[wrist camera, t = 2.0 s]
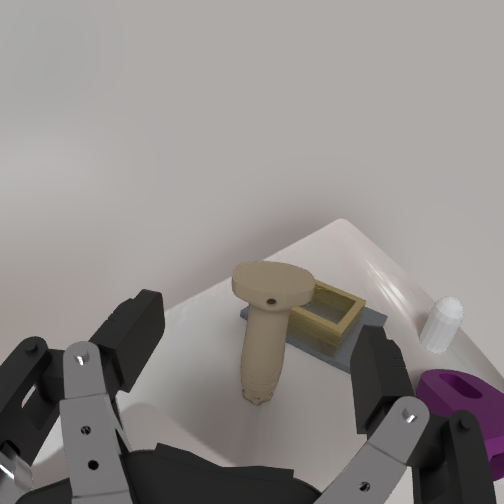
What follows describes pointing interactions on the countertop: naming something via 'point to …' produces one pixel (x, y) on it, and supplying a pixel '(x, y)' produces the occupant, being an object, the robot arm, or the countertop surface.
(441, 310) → the capsule
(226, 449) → the countertop surface
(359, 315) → the plate
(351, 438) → the countertop surface
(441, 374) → the mounting bracket
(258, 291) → the handle
